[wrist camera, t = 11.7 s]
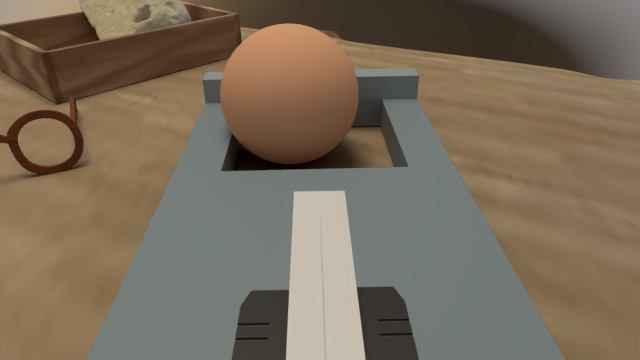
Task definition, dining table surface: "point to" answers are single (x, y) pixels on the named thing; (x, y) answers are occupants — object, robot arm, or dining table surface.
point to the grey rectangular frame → (365, 232)
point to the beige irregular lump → (132, 15)
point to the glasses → (69, 121)
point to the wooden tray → (110, 51)
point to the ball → (289, 94)
